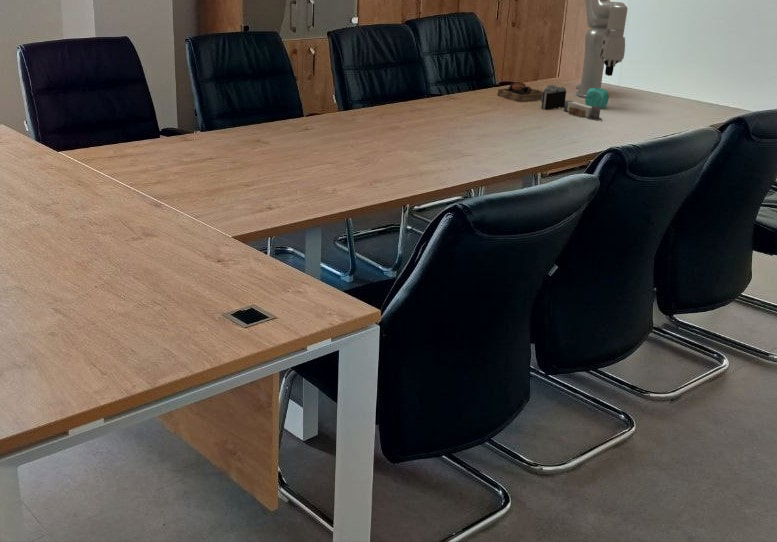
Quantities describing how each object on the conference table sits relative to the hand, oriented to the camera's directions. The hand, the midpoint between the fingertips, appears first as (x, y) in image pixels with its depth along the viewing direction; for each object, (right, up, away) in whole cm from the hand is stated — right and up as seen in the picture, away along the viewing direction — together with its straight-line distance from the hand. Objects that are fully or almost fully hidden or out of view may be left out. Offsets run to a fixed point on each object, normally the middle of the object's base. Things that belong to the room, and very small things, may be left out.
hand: (608, 75), depth 409 cm
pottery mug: (-38, -8, +15) cm, 42 cm away
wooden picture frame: (-36, -7, +16) cm, 40 cm away
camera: (-26, -15, -1) cm, 30 cm away
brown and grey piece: (-14, -22, -17) cm, 31 cm away
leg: (-17, -19, -12) cm, 28 cm away
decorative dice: (-5, -14, +5) cm, 15 cm away
